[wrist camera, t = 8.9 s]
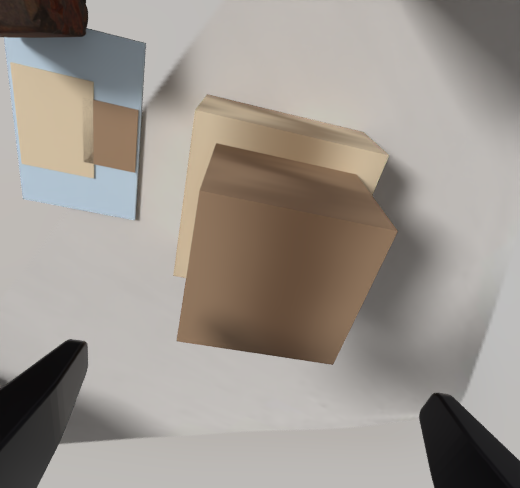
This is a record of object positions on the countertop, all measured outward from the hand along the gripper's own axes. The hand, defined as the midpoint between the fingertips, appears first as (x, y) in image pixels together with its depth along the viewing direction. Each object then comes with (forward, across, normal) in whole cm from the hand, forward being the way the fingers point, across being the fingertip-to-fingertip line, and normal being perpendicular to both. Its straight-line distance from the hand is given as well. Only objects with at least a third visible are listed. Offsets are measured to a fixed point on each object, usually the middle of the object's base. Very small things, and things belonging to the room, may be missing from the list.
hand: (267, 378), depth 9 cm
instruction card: (+12, +10, -1) cm, 16 cm away
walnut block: (+8, 0, 0) cm, 8 cm away
